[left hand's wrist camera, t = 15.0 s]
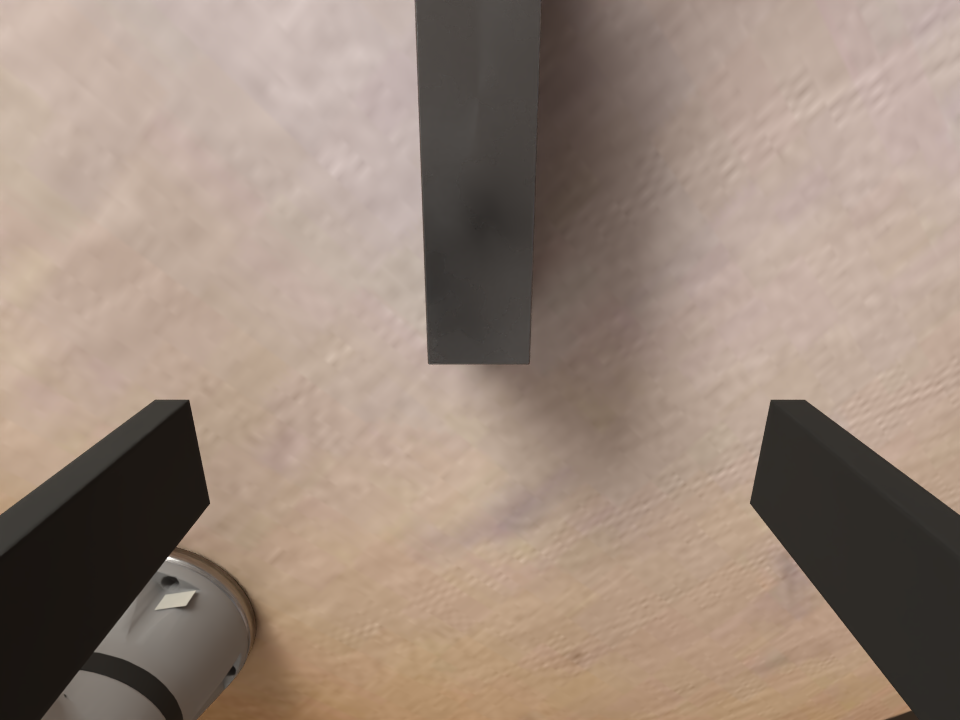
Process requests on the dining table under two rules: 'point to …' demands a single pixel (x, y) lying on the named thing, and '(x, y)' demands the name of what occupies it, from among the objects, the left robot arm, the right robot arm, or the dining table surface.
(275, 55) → the dining table surface
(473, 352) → the bar
